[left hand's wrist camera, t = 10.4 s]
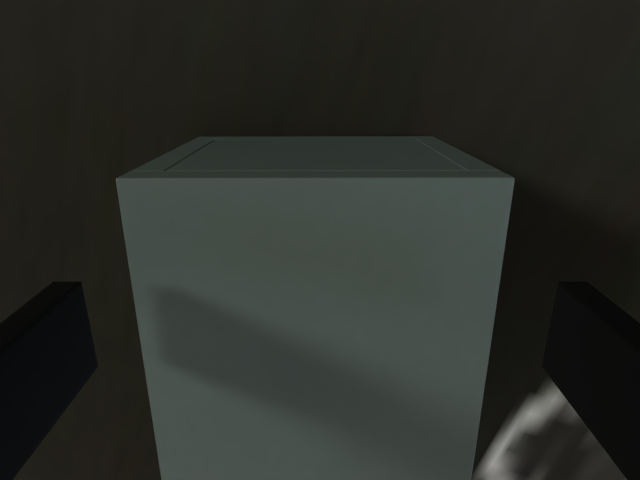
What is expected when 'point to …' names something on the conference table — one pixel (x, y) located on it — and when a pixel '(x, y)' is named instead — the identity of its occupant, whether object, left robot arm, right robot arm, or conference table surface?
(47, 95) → the conference table surface
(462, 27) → the conference table surface
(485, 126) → the conference table surface
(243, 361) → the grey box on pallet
